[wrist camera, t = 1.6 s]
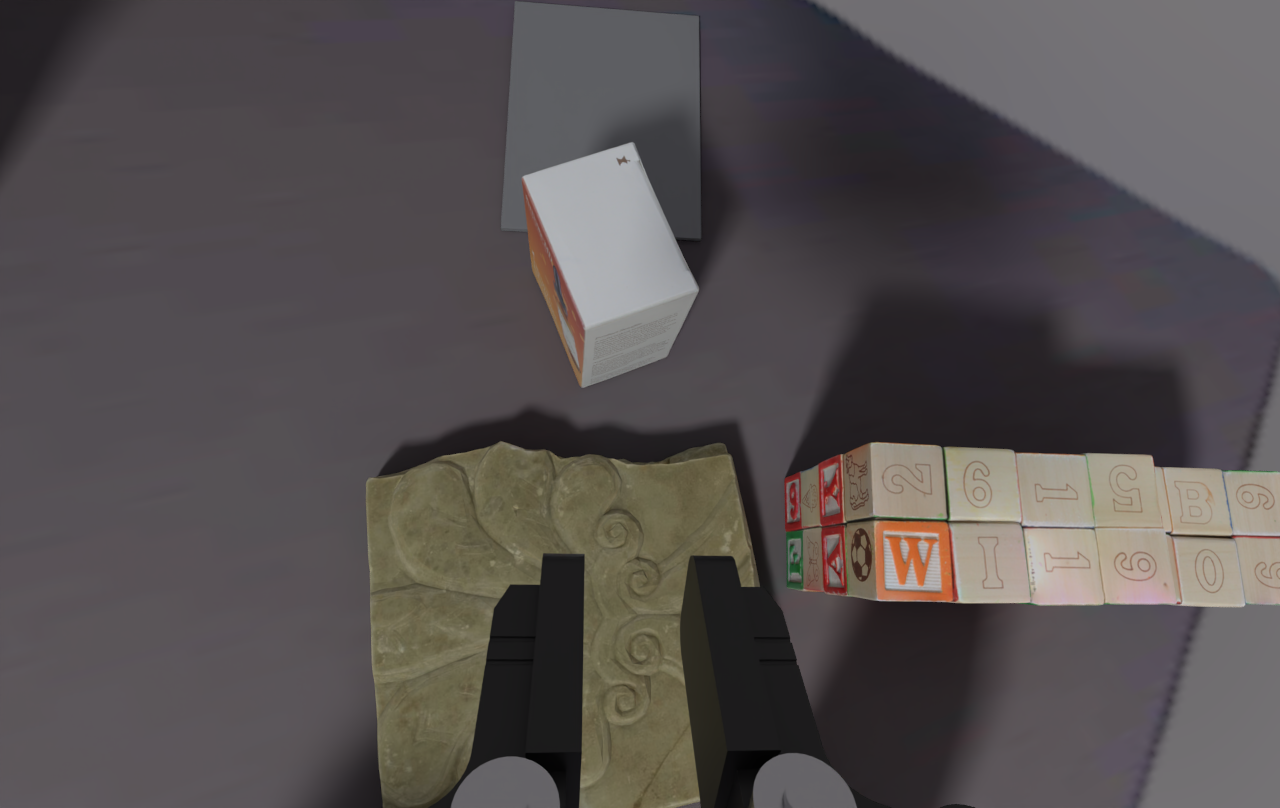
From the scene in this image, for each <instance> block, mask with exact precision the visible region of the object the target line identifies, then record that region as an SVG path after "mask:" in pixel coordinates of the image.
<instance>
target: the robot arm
mask: <svg viewBox="0 0 1280 808" xmlns="http://www.w3.org/2000/svg"><path fill="white" fill-rule="evenodd" d="M584 572H585V554H556V553H543V557H542V568H541V580H540V585H519V584H510V586H509V587H508V589H507V590H506V592H505V593H504V595H503V596H502V597H501V599H500V600H499V602H498V603H497V605H496V606H495V608H494V612H493V618H492V625H491V631H490V640H489V644H488V650H487V656H486V665H485V669H484V676H483V682H482V688H481V695H480V701H479V708H478V714H477V720H476V727H475V733H474V740H473V746H472V752H471V756H470V760H469V763H468V765H467V768H466V770H465V772H464V773H463V775H462V777H461V779H460V780H459V781H458V782H457V784H456V785H455V786H454V788H453V789H452V790H451V791H450V792H449V793H448V794H447V795H445V796H444V797H443V798H442V799H440V800H439V801H438V802H436V803H435V804H433V805H431V806H430V807H428V808H579V800H580V779H581V759H582V707H583V639H584ZM680 647H681V656H682V664H683V671H684V679H685V687H686V695H687V702H688V710H689V718H690V726H691V733H692V741H693V749H694V757H695V764H696V772H697V780H698V787H699V795H700V803H701V808H891V807H888V806H885V805H882V804H879V803H877V802H874V801H871V800H869V799H868V798H866V797H864V796H862V795H860V794H859V793H858V792H856V791H855V790H853V789H852V788H851V787H850V786H849V785H847V784H846V783H845V781H844V780H843V778H842V777H841V776H840V775H839V774H838V773H837V772H836V771H835V770H834V769H833V767H832V766H831V765H830V763H829V761H828V759H827V757H826V755H825V752H824V750H823V747H822V744H821V740H820V737H819V733H818V730H817V727H816V723H815V720H814V717H813V713H812V710H811V706H810V703H809V700H808V696H807V693H806V690H805V686H804V683H803V679H802V676H801V673H800V669H799V666H798V665H797V663H796V660H797V659H796V656H795V652H794V649H793V646H792V643H790V636H789V632H788V629H787V625H786V622H785V619H784V615H783V612H782V610H781V608H780V607H779V606H778V605H777V603H776V602H775V601H774V600H773V598H772V597H771V596H770V595H769V593H768V592H767V591H766V590H765V588H764V587H741V582H740V578H739V574H738V570H737V566H736V562H735V559H734V558H733V556H695V555H692V556H690V559H689V563H688V570H687V576H686V583H685V590H684V596H683V603H682V610H681V618H680ZM940 808H975V807H971V806H967V805H960V804H952V805H946V806H943V807H940Z"/></svg>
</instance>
